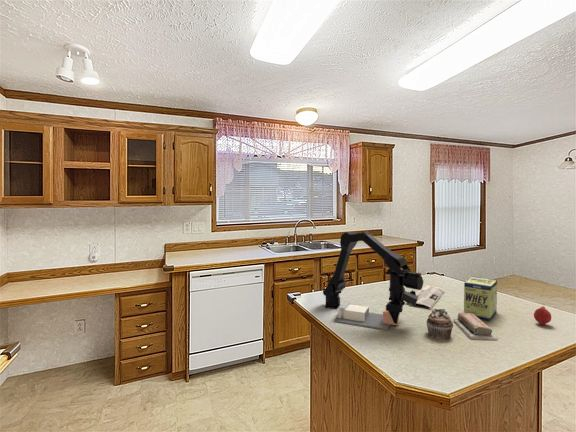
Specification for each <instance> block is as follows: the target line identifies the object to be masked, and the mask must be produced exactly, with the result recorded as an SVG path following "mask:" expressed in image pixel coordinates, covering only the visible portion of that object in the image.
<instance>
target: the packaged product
mask: <svg viewBox="0 0 576 432" xmlns="http://www.w3.org/2000/svg"><path fill="white" fill-rule="evenodd" d="M457 314H458V315H457V318H453V323H455V324H456V326H457V327H458V328H459V329H460V330H461V332H462V333H464V334H465V335H466V337H468V338H469V339H470V340H483V341H498V340H499V337H497V335H495V334H494V333H493V330H492V328H490V327H489V326H488V325H487V324H486V323H485V322H484V321H483V320H481V319H479V318H478V317H477V316H475V315H474V314H471V313H464V312H458V313H457Z"/></svg>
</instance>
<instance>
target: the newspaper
mask: <svg viewBox="0 0 576 432" xmlns="http://www.w3.org/2000/svg"><path fill="white" fill-rule="evenodd" d="M445 293H446V291H445V290H444V289H443V288H441V287H437V286H432V285H428V284H426V283H424V284H423V287H422V289H421V290H418V291H417V292H416V296H418V300H417V302H416V304H418V305H423V306H425V307H427V309H428V310H432V309H433V307H434V306H435V305H436V304H437V302H438V301H439V300H440V299H441V297H442V296H443V295H444V294H445ZM408 305H409V307H414V306H413V305H411V304H410V303H408Z"/></svg>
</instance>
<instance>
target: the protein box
mask: <svg viewBox="0 0 576 432" xmlns="http://www.w3.org/2000/svg"><path fill="white" fill-rule="evenodd" d="M463 289H464V290H463V291H464V292H463V313H471V314H474V315H475V316H477V317H478V318H479V319H480V320H481V321H486V322H491V320H492V319H493V318H494V316H495V315H496V314H497V309H498V308H497V306H498V280H497V279H493V278H485V277H479V276H472V277H470V278H469V279H468V280H466V281H465V282H464V286H463Z"/></svg>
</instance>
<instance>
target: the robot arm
mask: <svg viewBox="0 0 576 432" xmlns="http://www.w3.org/2000/svg"><path fill="white" fill-rule="evenodd" d="M358 242H363V243H365V244H366V245H367V247H369V248H370V249H371V250H373V252H375V253H376V254H377V255H378V256H379V257H381V258H382V260H383V262H384V264H385V266H387V268H388V269H387V270H386V271H385V272H384V274H385V275H389V287H388V291H389V297H388V302H386V305H385V308H386V310H387V311H389V313H390V315H391V317H392V319H393V322H394V323H395V324H397V321H398V316H399V317H400V314H401V313H403V310H404V306H405V304H406V303H408V304H409V303H410V304H411V305H413V306H412V307H415V306H416V304H417V303H416V302H417V300H418V296H416V293H417V292H416V291H415V290H418V291H419V290H421V289H422V287H423V286H424V279H423V276H422V273H421V272H412V270H411V267H409V265H408V264H407V261H406V260H407V259H405V257H404V256H402V255H400V254H399V253H397V252H395V251H392V250H390V249H389V248H388V247H387V246H386V245H384V244H383V243H382V242H381V241H379V240H378V239H377V238H376V237H374V235H372V234H371V233H370V232H369V231H362V232H355V231H348V232H344V233H342V234H341V236H340V241H339V245H340V253H339V256H338V259H337V263H336V266H335V270H334V273H333V275H332V276H331V277H330V279H329V281H328V282H327V283H326V284H327V285H326V287H325V288H324V289H323V290H322V295H323V296H325V305H324V308H328V309H336V310H338V309H339V307H340V306H341V297H340V294H341V293H342V292H343V290H344V289H345V288H346V284H347V280H345V278H344V277H345V273H346V269H347V267H348V264H349V263H348V262H349V259H350V256H351V253H352V251H353V249H354V248H355V247H356V245H357V243H358ZM406 289H411V290H410V291H406Z"/></svg>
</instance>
